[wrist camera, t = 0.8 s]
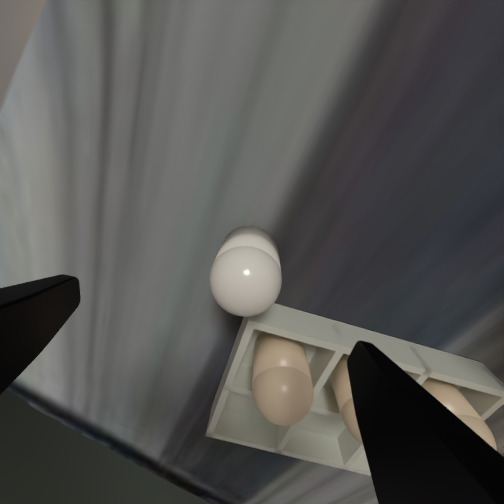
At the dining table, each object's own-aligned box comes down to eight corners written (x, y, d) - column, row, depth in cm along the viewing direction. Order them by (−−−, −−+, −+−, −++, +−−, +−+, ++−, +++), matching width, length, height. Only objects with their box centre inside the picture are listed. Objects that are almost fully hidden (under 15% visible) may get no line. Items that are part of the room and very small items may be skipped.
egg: (286, 236, 17) (297, 277, 12) (267, 284, 19) (269, 341, 13) (229, 218, 17) (211, 251, 11) (215, 269, 19) (193, 320, 13)
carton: (481, 362, 21) (574, 452, 15) (395, 450, 27) (435, 542, 20) (250, 296, 19) (243, 364, 13) (212, 404, 25) (194, 488, 19)
